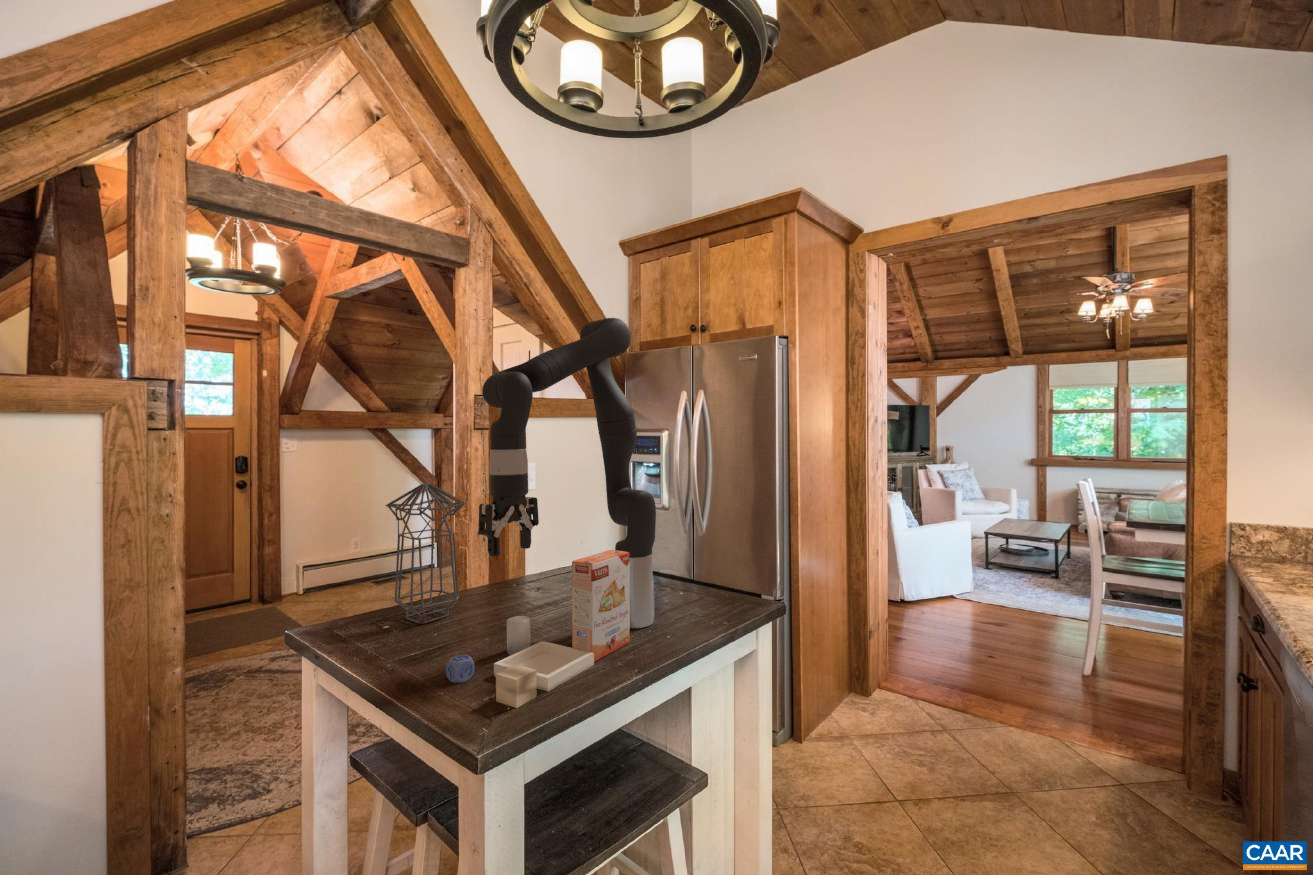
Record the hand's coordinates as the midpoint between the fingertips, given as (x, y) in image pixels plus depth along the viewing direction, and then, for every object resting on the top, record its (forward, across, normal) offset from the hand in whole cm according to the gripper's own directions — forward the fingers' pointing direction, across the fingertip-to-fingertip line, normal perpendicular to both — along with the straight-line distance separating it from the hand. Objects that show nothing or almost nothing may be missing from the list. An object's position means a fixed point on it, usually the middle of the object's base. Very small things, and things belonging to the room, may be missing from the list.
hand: (510, 551), depth 118 cm
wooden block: (+24, -9, -10) cm, 28 cm away
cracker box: (+24, +17, -10) cm, 31 cm away
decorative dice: (+24, -8, +6) cm, 26 cm away
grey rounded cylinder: (+24, +8, +6) cm, 26 cm away
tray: (+24, +3, -6) cm, 25 cm away
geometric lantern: (+24, +14, +44) cm, 52 cm away
